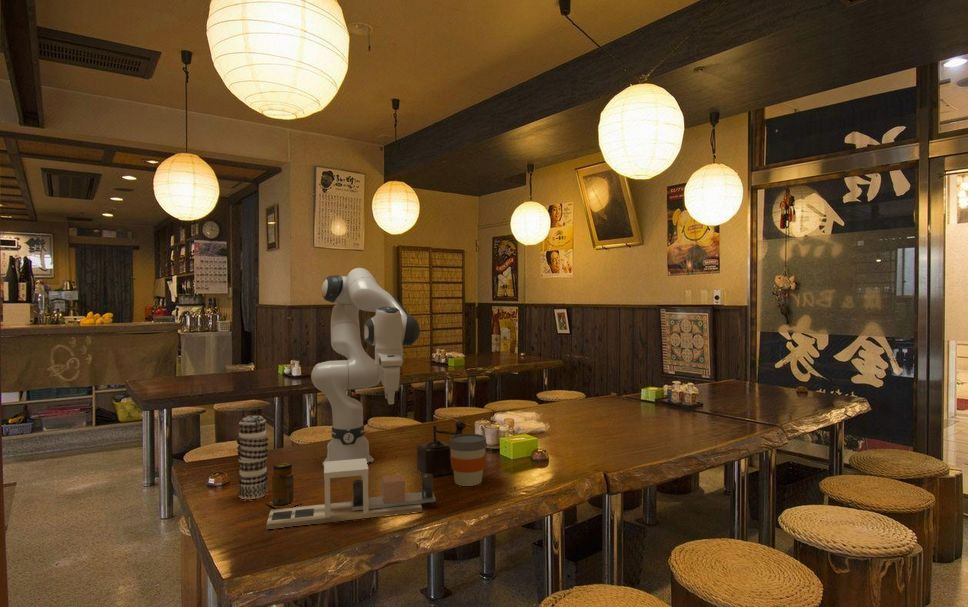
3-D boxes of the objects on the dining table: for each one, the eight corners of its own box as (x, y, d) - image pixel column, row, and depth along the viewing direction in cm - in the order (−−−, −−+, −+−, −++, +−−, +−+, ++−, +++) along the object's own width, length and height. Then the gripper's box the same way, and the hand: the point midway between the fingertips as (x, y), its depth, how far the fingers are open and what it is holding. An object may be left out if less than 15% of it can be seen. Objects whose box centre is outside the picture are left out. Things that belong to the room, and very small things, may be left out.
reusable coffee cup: (466, 474, 194) (466, 431, 194) (494, 481, 186) (494, 436, 186) (441, 483, 184) (441, 438, 184) (470, 491, 177) (469, 444, 176)
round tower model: (232, 495, 175) (231, 417, 175) (261, 488, 181) (260, 412, 181) (244, 503, 168) (243, 421, 168) (273, 495, 175) (272, 416, 175)
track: (270, 515, 159) (270, 509, 159) (416, 499, 170) (416, 494, 170) (266, 530, 148) (266, 524, 148) (422, 512, 160) (422, 507, 160)
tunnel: (325, 504, 163) (324, 461, 163) (366, 499, 166) (366, 458, 166) (324, 518, 152) (323, 472, 152) (369, 513, 156) (368, 468, 155)
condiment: (288, 498, 173) (287, 459, 172) (302, 505, 167) (301, 465, 167) (265, 504, 167) (265, 465, 167) (279, 512, 161) (278, 470, 161)
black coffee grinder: (427, 478, 190) (426, 426, 190) (416, 470, 200) (415, 420, 200) (468, 472, 197) (467, 421, 197) (455, 464, 207) (455, 415, 206)
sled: (351, 502, 163) (351, 478, 163) (432, 494, 169) (431, 471, 169) (352, 510, 156) (351, 486, 156) (435, 501, 163) (435, 477, 163)
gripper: (376, 355, 185) (376, 396, 185) (381, 361, 166) (382, 407, 166) (395, 354, 187) (395, 395, 187) (402, 360, 167) (403, 406, 167)
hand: (389, 401), depth 176 cm, fingers open, 8 cm apart
